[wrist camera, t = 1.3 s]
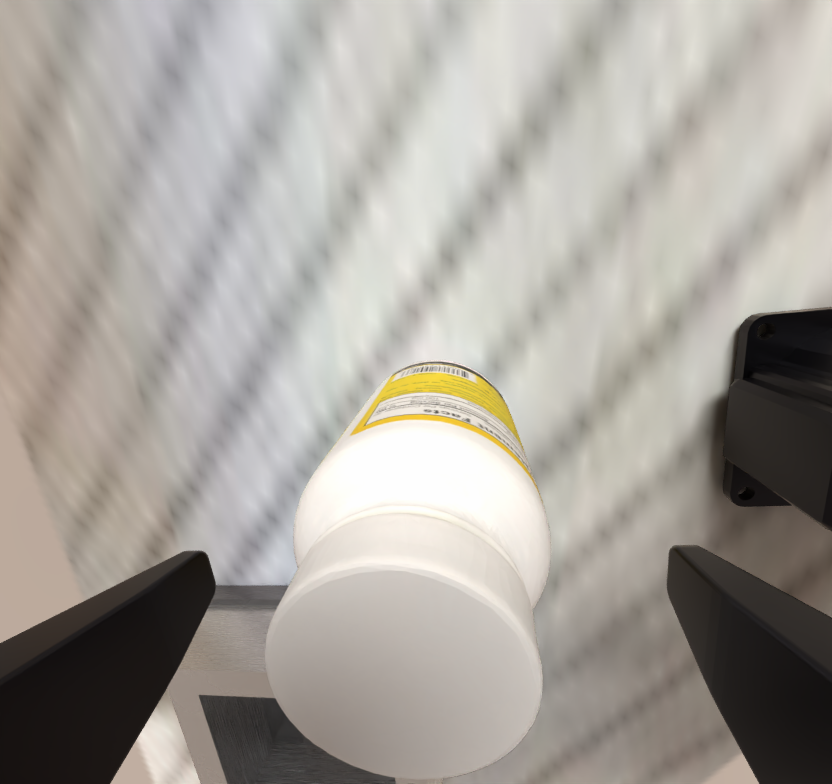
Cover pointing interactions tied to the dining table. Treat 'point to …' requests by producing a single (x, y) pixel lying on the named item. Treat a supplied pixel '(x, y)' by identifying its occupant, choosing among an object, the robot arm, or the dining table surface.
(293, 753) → the socket collar
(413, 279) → the dining table surface
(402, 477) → the supplement bottle
